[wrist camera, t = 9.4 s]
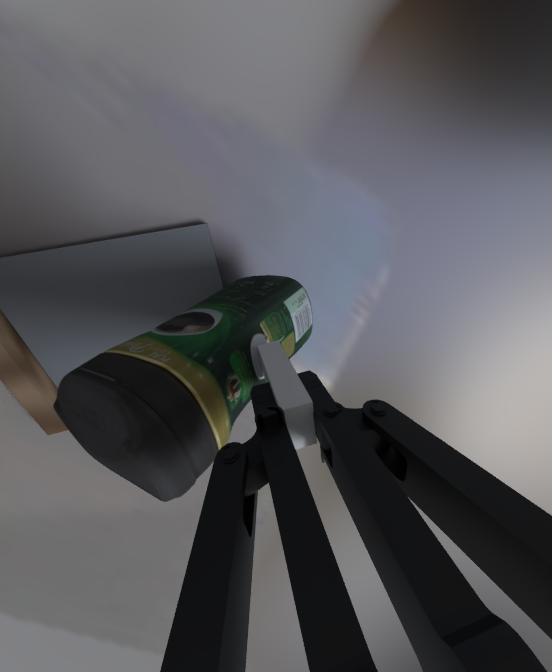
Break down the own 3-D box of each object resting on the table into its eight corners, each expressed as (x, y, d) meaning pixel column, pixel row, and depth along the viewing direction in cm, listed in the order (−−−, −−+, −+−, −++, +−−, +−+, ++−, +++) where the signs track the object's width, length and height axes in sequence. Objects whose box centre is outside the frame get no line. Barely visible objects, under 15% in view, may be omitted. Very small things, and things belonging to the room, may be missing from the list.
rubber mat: (-24, 261, 21) (-33, 263, 20) (207, 223, 24) (206, 223, 23) (82, 413, 29) (79, 418, 28) (244, 371, 32) (245, 374, 31)
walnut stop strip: (-58, 267, 20) (-90, 272, 18) (-31, 262, 21) (-59, 267, 18) (60, 419, 28) (47, 435, 26) (78, 414, 29) (67, 430, 27)
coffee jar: (246, 337, 30) (90, 469, 16) (230, 274, 26) (11, 376, 13) (320, 346, 25) (185, 545, 11) (312, 270, 21) (101, 430, 8)
